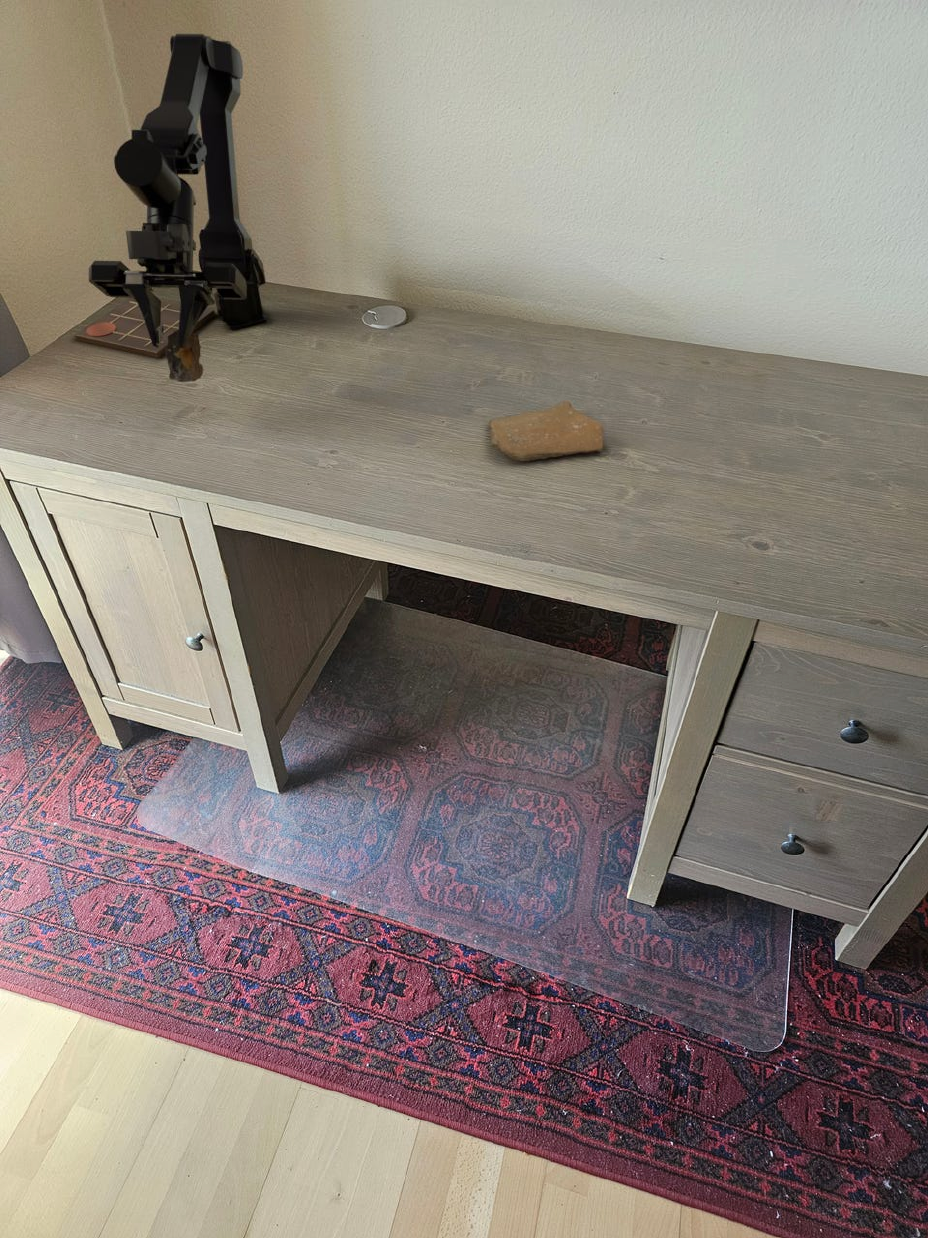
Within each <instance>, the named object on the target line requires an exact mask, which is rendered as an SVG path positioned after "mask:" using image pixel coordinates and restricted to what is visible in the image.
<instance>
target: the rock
mask: <svg viewBox="0 0 928 1238" xmlns="http://www.w3.org/2000/svg"><path fill="white" fill-rule="evenodd" d="M156 330H157V336H158V343H156V344H157V345H158V346H159V344H160V343H161V342H162V336H164V330H163V323H162V324H161V325H160V326H159V327H158V328H157V329H156ZM201 348H202V346H201V343H200V339H199V332H193V333H192V334H191V336H190V338H189V340H188V342H187V344H186V346H185V348H181V347H179V341H178V330H175V331H174V332H173V333H172V334H170V335H169V336H168V345H167V348H166V353H165V357H166V361H167V365H168V369H169V375H168V377H169V379H170V380H173V381H175V382H178V383H188V382H196V381H197V380H200V379H201V378H202V376H203V374H204V366H203V364H202V363H200V358H201V356H202V355H201Z"/></svg>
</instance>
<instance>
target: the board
mask: <svg viewBox="0 0 928 1238" xmlns="http://www.w3.org/2000/svg"><path fill="white" fill-rule="evenodd" d="M158 299H159V300H161V324H162V323H163V330H164V336H162V342H161V343H160V344H159V347H158V348H155V347H154V346H153V344H152V342H151V338H150V335H149V332H148V329H147V326H146V323H145V320H144V317H143V314H142V312H141V310H140V307H139V305H138V303H137V301H135V300H134V299H133V298H127V299H126V300H125V301H123V302H122V303H121V304H119V305H117V306H116V307H114V308H113V309H112V310H110V311H108V312H107V313H105V314H104V315H102V316H101V317H99V318H97V319H96V320H94V321H93V322H92V323H90V324H89V325H87V326H85V327H84V328H82V329H81V330H80V331H78V332H76V333H75V334H74V337H75V340H76V341H78V342H83V343H87V344H91V345H96V346H101V347H105V348H109V349H115V350H119V351H123V352H128V353H133V354H137V355H142V356H146V357H151V358H155V359H160V358H162V357H163V356H164V355H166V348H167V345H168V336H169V335H170V334H172V333H173V332H174V331H175V330H179V317H180V305H181V302H178V301H177V302H176V301H172V300H166V299H163V298H158ZM215 316H216V311H215V309H212V308H208V307H207V308H206V309H205V311H204V313H203V314H202V316H201V317H200V319H199V320H198V322H197V324H196V326H195V328H194V330H193V332H192V334H194V333H195V331H197V330H198V329H199V328H200V327H202V326H203V325H204V324H206V323H207V322H209V321H210V320H211V319H212V318H214V317H215Z"/></svg>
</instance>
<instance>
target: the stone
mask: <svg viewBox="0 0 928 1238" xmlns="http://www.w3.org/2000/svg"><path fill="white" fill-rule="evenodd" d="M487 425H488V427H489V432H490V435H491V436H490V438H491V439H490V441H491V446H492V447H493V448H494V449H497V450H499V451H501V452H503V453H504V454H505V455H506V456H507V457H509V458H510V459H512V460H515V461H520V462H529V461H535V460H546V459H548V458H557V457H562V456H570V455H575V454H579V453H583V454H587V453H591V452H602V451H603V449H604V440H603V433H604V428H603V425H602V424H601V423H600V422H599V421H596V420H595V419H592V418H590V417H589V416H587V415H586V414H583V413H582V412H580V411H578V410H577V409H575V408H573V406H572V404H571V402H569V401H566V400H564V401H562V402H560V403H559V402H558V404H555V405H553V406H551V407H548V408H543V409H539V410H535V411H534V410H533V411H529V412H525V413H519V414H517V415H511V416H504V417H500V418H493V419H489V421H488V422H487Z"/></svg>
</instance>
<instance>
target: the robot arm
mask: <svg viewBox="0 0 928 1238" xmlns="http://www.w3.org/2000/svg"><path fill="white" fill-rule="evenodd" d="M169 46H170V47H169V49H170V58H169V63H168V66H167V67H168V68H167V72H166V76H165V80H164V85H163V89H162V92H161V93H162V94H161V98H160V102H159V105H158V106H157V107H156V108H154V109H153V110H151V111H150V112H148V113H146V115H145V117H144V120H143V121H142V124H141V126H140V129H131V135H130V137H131V138H130V139H128V140H126V141H124V142H123V143H122V144H121V145H120V147H119V148H118V149H117V151H116V154H115V155H114V158H113V163H114V164H113V165H114V170H115V172H116V174H117V176H118V177H119V178H120V180H121V181H122V182H123V183H124V184H125V186H126V187H127V188H128V189H129V190H130V191H131V193H132V194H133V195H134V196H135V197H136V198H137V200H138V201H140V202H141V203H142V204H143V205H144V206H146V222H142V225H141V230H125V235H126V243H127V252H128V253H127V254H128V259H129V260H136V262H137V264H138V265H139V266H140V267H141V268H142V267H145V270H131V269H130V268H129V267H127V265H125V263H123V262H122V261H121V260H94V261H93V262H92V263H91V264H90V266H89V267H88V282H89V283H90V284H91V285H93V286H94V287H95V288H96V289H97V290H99V291H100V292H101V293H103V294H104V295H105V296H106V297H110V298H127V299H129V298H133V299H134V300H135V301H137V303H138V305H139V307H140V310H141V312H142V314H143V317H144V320H145V323H146V326H147V329H148V332H149V335H150V338H151V342H152V344H153V346H154V347H155V348H158V347H159V346H158V345H157V344H156V343H158V336H157V330H156V329H157V328H158V327H159V326H160V325H161V300H159V299H160V298H159V297H158V296H156V294H154V293H155V288H160V289H161V288H163V289H164V288H165V289H166V288H171V289H178V295H179V300H180V303H181V305H180V317H179V330H178V341H179V347H181V348H185V346H186V344H187V342H188V340H189V338H190V336H191V334H193V333H194V332H193V330H194V328H195V326H196V324H197V322H198V320H199V319H200V317H201V316H202V314H203V313H204V311H205V309H206V308H208V307H209V306H214V305H216V310H217V315H218V317H219V319H220V320H221V321H222V323H224V324H225V325H226V326H227V327H228V329H230V330H237V329H241V328H243V327H248V326H252V325H257V324H262V323H266V322H267V321H268V318H267V317H266V315H265V314H264V312H263V306H262V300H261V295H260V287H261V286H262V285H266V283H267V280H266V275H265V269H264V263H263V261H262V259H261V258H260V256H259V255H258V253H257V252H256V250H255V249H254V247H253V240H252V236H250V234H249V233H248V231H247V229H246V227H245V226H244V225H243V223H242V221H241V219H240V218H241V217H240V207H239V206H240V205H239V193H238V183H237V182H238V181H237V180H238V179H237V170H236V169H237V168H236V167H237V166H236V156H235V143H234V132H233V131H234V130H233V129H234V128H233V117H232V115H233V114H232V113H233V111H234V109H235V107H236V106H237V105H236V104H237V103H238V101H239V99H240V97H241V91H242V90H241V80H242V79H243V76H244V66H243V60H242V59H243V58H242V55H241V53H240V51H239V50H238V49H237V47H235V46H233V45H232V43H231V41H230V40H216V39H213V38H211V36H209V35H208V36H207V35H205V34H204V33H176V34H175V35H171V37H170V41H169ZM199 121H200V122H199ZM198 123H200V131H199V129H198ZM200 134H201V135H200ZM202 166H204V167H203V168H204V176H205V189H206V199H207V209H208V220H207V222H206V224H205V226H204V228H202V229H200V231H199V234H198V237H199V246H200V247H199V249H198V265H199V269H200V271H194V251H195V252H196V251H197V242H196V241H195V240H194V221H195V220H194V216H195V214H194V212H195V211H194V210H195V208H194V206H196V205H197V200H196V196H195V191H194V189H193V188H192V186H191V185H190V184H189V183H188V182H187V181H186V180H185V179H184V178H182V177H180V176H179V175H181V176H183V175H184V176H187V175H188V176H196V175H199V174H200V172H201V169H202ZM213 289H215V290H216V291H215V292H214V293H213V291H214V290H213ZM213 297H214V298H213ZM192 332H193V333H192Z"/></svg>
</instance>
